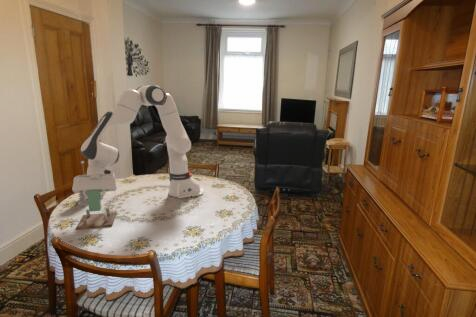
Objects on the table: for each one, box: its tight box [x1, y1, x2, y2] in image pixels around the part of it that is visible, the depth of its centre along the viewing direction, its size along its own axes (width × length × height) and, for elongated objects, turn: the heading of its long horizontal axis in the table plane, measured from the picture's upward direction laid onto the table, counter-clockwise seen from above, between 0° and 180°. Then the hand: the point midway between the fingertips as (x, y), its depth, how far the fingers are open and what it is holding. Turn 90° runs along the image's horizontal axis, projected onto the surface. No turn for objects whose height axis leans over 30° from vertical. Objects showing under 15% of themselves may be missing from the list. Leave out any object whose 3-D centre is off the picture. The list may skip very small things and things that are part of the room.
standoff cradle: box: [75, 207, 117, 231], centre depth 146 cm, size 16×14×5 cm
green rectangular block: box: [87, 190, 102, 213], centre depth 143 cm, size 5×3×10 cm, turn 105°
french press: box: [77, 160, 89, 207], centre depth 165 cm, size 10×12×25 cm
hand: (94, 199), depth 143 cm, fingers closed on green rectangular block, 5 cm apart
